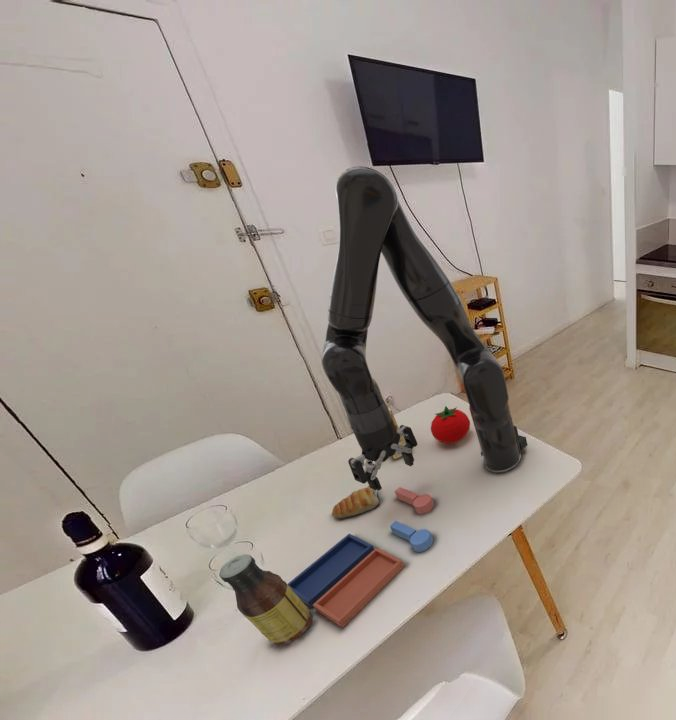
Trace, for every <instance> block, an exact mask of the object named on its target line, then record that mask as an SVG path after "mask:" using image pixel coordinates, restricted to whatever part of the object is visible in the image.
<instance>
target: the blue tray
mask: <svg viewBox="0 0 676 720" xmlns="http://www.w3.org/2000/svg"><path fill="white" fill-rule="evenodd" d="M374 549H375V548H374V546H373V545H372V544H371V543H369V542H367V541H366V540H363V539H362V538H359V537H357V536H356V535H353V534H351V533H348V534H346V536H344V537H343V538H342V539H340V540H339V541H338V542H337V543H336V544H335V545H333V546H332V547H330V548H329V549H328V550H327V551H325V552H324V553H323V554H322V555H321V556H320V557H318V558H317V559H315V561H314V562H312V563H311V564H310V565H309V566H308V567H306V568H305V569H304V570H303V571H301V572H300V573H299V574H297V575H296V576H295V577H294V578H293V579H292V580H290V581H289V582H288V583H287V584H288V585H289V587H290V588H291V589H292V590H293V591H294V593H295V594H296V595H297V596H298V597H299V598H300V600H301V601H302V602H303V603H304V604H305V605H306V606H308V607H309V608H311V609H313V608H314V607H313V604H314V603H315V602H316V601H317V600H319V599H320V598H321V597H322V596H323V595H324V594H325V593H326V592H328V591H329V590H330V589H331V588H332V587H333V586H334V585H335V584H336V583H338V582H339V581H340V580H341V579H342V578H343V577H344V576H345V575H346V574H348V573H349V572H350V571H351V570H352V569H353V568H354V567H355V566H357V565H358V564H359V563H360V562H361V561H362V560H363V559H364V558H365V557H367V556H368V555H369V554H370V553H371V552H372V551H373V550H374Z"/></svg>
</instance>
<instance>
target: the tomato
mask: <svg viewBox="0 0 676 720" xmlns="http://www.w3.org/2000/svg"><path fill="white" fill-rule="evenodd" d="M457 408H458V406H456V407H454V408H449V407H447V405H445V407H444V409H443V410H442V411H440V412H437V413H435V416H434V418H433V419H432V421H431V424H430V432H431V435H432V437H433V438H434V439H435V440H437V441H438V442H439V443H443V444H454V443H458V442H459V441H460V440H463V438H465V437H466V436H467V434H468V433H469V431H470V427H471V421H470V418H469V417H468V415H467V413H465V412H464V411H462V410H461V409H457Z"/></svg>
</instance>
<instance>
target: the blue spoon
mask: <svg viewBox="0 0 676 720" xmlns="http://www.w3.org/2000/svg"><path fill="white" fill-rule="evenodd" d="M389 528H390V531H391V532H392V534H393V535H395V536H397V537H399V538H401V539H404V540H405V541H408V542H409V543H410V545H411V547H412V550H413V551H414V552H417V553H421V552H425V551H426V550H429V548H430V547H431V546H432V545H433V542H434V538H433V536H432V534H431V532H430V530H429V529H427V528H422V529H418V530H416V529H415V528H412V527H410V526H408V525H407V524H404V523H402V522H400V521H397V520H394V521H393V522H392V523H391V524H390V525H389Z"/></svg>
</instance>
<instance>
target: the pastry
mask: <svg viewBox="0 0 676 720" xmlns="http://www.w3.org/2000/svg"><path fill="white" fill-rule="evenodd" d="M377 491H378V490H374V489H371V488H370V486H369V485H368V486H367V487H364V488H360V489H358V490H354V491H353V492H351V494H349V495H348V496H347V497H345V498H343V499H341V500H340V501H339V502H338V503H336V504H335V505H334V506H333V508H332V512H331V515H332V517H335V518H337V519H344V518H349V517H355V516H358V515H361V514H363V513H365V512H367V511H371V510H373V509H375V508H376V507H377V506H378V505H379V499H378V497H377V496H378V492H377Z"/></svg>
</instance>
